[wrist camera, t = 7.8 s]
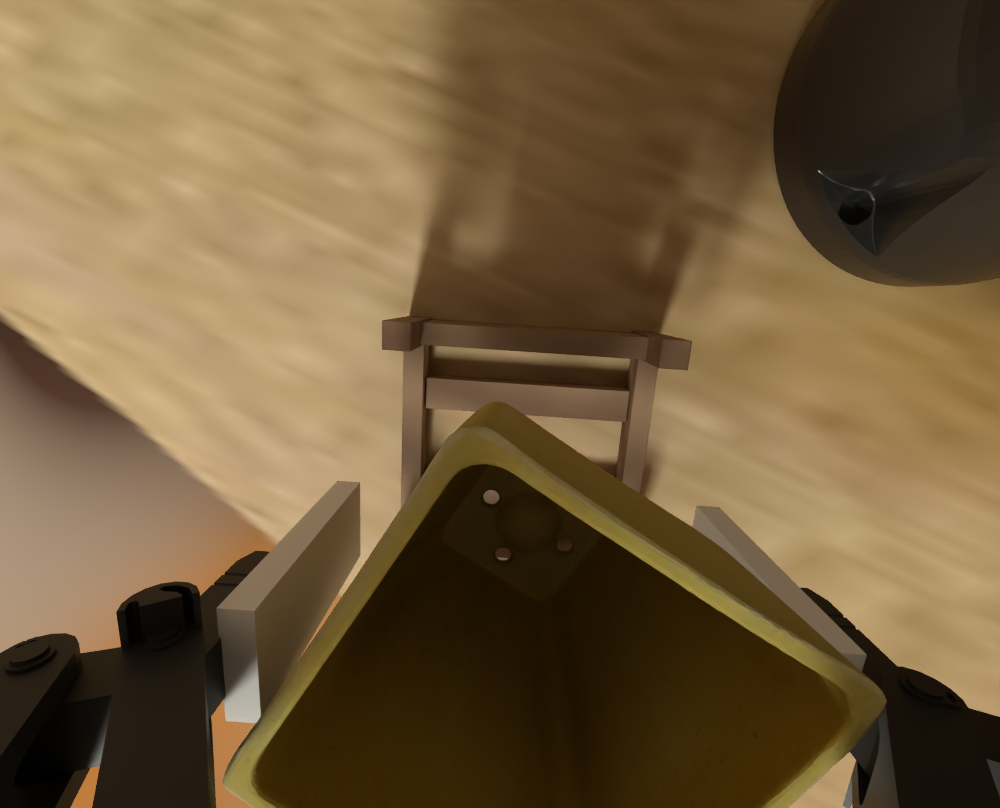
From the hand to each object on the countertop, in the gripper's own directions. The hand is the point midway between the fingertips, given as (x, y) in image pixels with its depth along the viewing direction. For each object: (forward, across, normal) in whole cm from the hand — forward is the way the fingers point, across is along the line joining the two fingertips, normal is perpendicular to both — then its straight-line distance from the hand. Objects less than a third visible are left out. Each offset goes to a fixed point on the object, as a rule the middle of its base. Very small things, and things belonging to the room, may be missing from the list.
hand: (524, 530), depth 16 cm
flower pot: (+1, 0, 0) cm, 1 cm away
